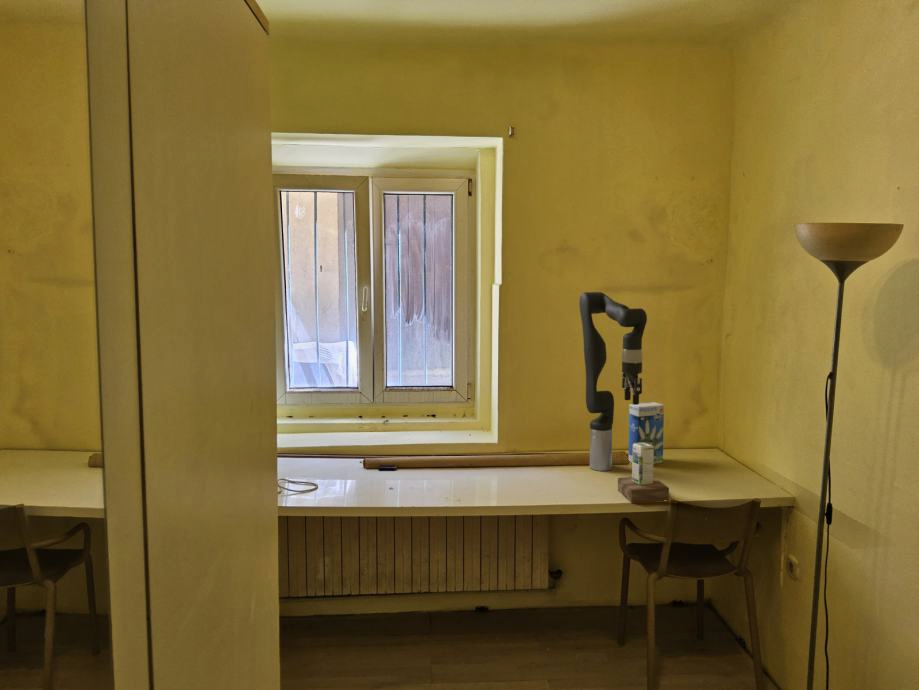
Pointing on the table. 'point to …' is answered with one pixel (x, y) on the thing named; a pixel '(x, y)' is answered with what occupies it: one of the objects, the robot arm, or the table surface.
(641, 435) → the string lights box
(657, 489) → the walnut block
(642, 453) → the syrup box
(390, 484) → the table surface
